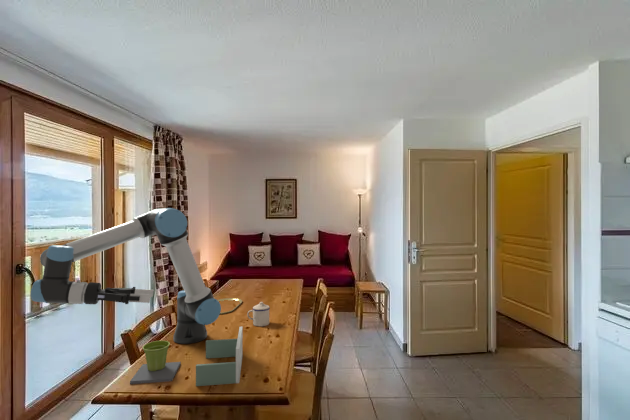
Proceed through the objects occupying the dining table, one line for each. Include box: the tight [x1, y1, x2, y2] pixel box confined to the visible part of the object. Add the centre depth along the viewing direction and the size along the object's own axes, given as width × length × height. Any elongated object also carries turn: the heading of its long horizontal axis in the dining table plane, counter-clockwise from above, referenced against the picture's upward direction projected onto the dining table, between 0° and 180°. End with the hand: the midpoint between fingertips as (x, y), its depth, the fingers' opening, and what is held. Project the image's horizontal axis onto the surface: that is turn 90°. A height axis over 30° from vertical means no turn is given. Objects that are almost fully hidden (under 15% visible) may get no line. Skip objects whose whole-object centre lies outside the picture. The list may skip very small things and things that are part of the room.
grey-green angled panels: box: [195, 326, 244, 387], centre depth 135 cm, size 15×24×12 cm, turn 9°
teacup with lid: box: [247, 301, 271, 327], centre depth 189 cm, size 12×9×12 cm
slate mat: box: [129, 361, 181, 385], centre depth 131 cm, size 14×14×1 cm
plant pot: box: [142, 340, 171, 371], centre depth 134 cm, size 9×9×9 cm
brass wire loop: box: [217, 297, 243, 315], centre depth 223 cm, size 19×35×2 cm, turn 176°
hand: (151, 295), depth 132 cm, fingers open, 13 cm apart
